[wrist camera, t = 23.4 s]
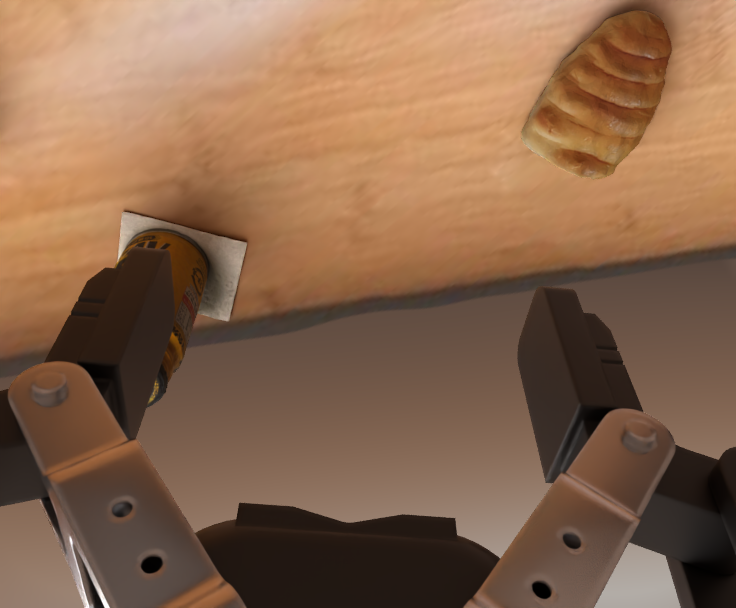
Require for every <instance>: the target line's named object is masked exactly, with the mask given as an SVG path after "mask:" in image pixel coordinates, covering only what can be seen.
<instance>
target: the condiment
mask: <svg viewBox="0 0 736 608" xmlns="http://www.w3.org/2000/svg"><path fill="white" fill-rule="evenodd" d="M246 246H247V243H246V242H242V241H236V240H232V239H229V238H226V237H220V236H216V235H213V234H209V233H204V232H201V231H198V230H194V229H190V228H187V227H184V226H180V225H177V224H172V223H168V222H164V221H160V220H156V219H153V218H149V217H143V216H141V215H136V214H132V213H127V212H122V218H121V230H120V242H119V252H118V261H117V264H116V266H115V269H121V268H122V266H123V264H124V262H125V260H126V257H127V255H128V253H129V251H130V249H131V248H132V247H142V248H153V249H163V250H169V252H170V255H171V264H172V277H173V289H174V302H175V317H174V325H173V330H172V334H171V337H170V340H169V343H168V346H167V349H166V352H165V355H164V358H163V360H162V363H161V366H160V369H159V372H158V375H157V378H156V381H155V384H154V387H153V390H152V393H151V395H150V398H149V401H148V404H147V407H149V406H151V405H153V404H154V403H156V402H157V401H159V400H160V399H161V398H162V396H163V394H164V393H165V392H166V388H167V384H168V382H169V380H170V379H171V376H172V374H173V373H175V372H176V370H177V369H178V368H179V366H180V364H181V362H182V360H183V358H184V355H185V351H186V347H187V344H188V341H189V337H190V334H191V331H192V328H193V324H194V321H195V318H196V315H197V314H201V315H206V316H209V317H212V318H215V319H220V320H224V321H229V318H230V313H231V310H232V305H233V301H234V297H235V293H236V288H237V284H238V280H239V276H240V272H241V267H242V263H243V259H244V255H245V250H246ZM147 407H146V408H147Z"/></svg>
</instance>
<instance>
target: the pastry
mask: <svg viewBox="0 0 736 608" xmlns="http://www.w3.org/2000/svg"><path fill="white" fill-rule="evenodd" d="M671 51H672V47H671V41H670V38H669V36H668V33H667V30H666V28H665V26H664V23H663V22H662V20H661V19H660V18H659V17H658V16H656V15H654V14H652V13H650V12H647V11H636V10H635V11H631V12H627V13H623V14H619V15H617V16H613V17H610V18H608V19H606V20H605V21H604V22H603V24H602V25H601V26H600V27H599V28H598V29H597V30H595V31H594V32H593V34H592V35H591V36H590V37H589V38H588V39H587V40H585V41H584V42H582V43H581V44H580V45H579V46H578V47H577V49H576V50H575V51H574V52H573V53H572V54H570V55H569V56H568V57H567V58H565V59H564V60H563V61H562V62H561V64H560V66H559V68H558V70H557V71H556V72H555V73H554V74H553V76H552V77H551V79H550V81H549V84H548V85H547V87H546V88H545V89H544V92H543V94H542V95H541V96H540V98H539V100H538V101H537V103H536V104H535V106H534V108H533V109H532V111H531V113H530V116H529V120H528V121H527V122H526V124H525V126H524V127H523V129H522V131H521V139H522V141H523V143H524V144H525V145H526V146H527V147H528V148H529V149H530V150H532V151H533V152H534V153H535V154H537V155H539V156H542V157H543V158H545V159H546V160H547V161H548V162H550V163H551V164H552V165H554V166H556V167H558V168H560V169H562V170H564V171H566V172H568V173H571V174H573V175H575V176H578V177H581V178H591V179H601V178H605V177H607V176H609V175H611V174H613V173H614V171H615V168H616V167H617V165H618V164H619V163H620V162H621V161H622V160H623V159H624V158H625V157H626V156H628V154H629V153H630V152H631V151H632V150H633V149H634V148H635V147H636V146H637V145H638V144H639V142H640V140H641V138H642V135H643V133H644V131H645V129H646V127H647V126H648V124H649V123H650V121H651V120H652V118H653V115H654V113H655V110H656V107H657V105H658V104H659V102H660V99H661V91H662V89H663V87H664V84H665V79H664V77H665V73H666V68H667V65H668V60H669V57H670V54H671Z"/></svg>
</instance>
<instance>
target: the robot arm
mask: <svg viewBox="0 0 736 608" xmlns="http://www.w3.org/2000/svg"><path fill="white" fill-rule="evenodd" d="M174 317H175V302H174V289H173V277H172V264H171V255H170V252H169V250H163V249H153V248H142V247H132V248H131V249H130V251H129V253H128V255H127V257H126V260H125V262H124V264H123V266H122V268H121V269H115V268H104V269H103V270H102V271H100V272H99V273H98V274H96V275H95V276H94V277H92V278H91V279H90V280H89V281H87V283H86V285H85V287H84V289H83V291H82V292H81V294H80V296H79V298H78V302H76V304H75V306H74V307H73V309H72V311H71V315H69V317H68V319H67V321H66V322H65V324H64V326H63V328H62V330H61V332H60V334H59V336H58V337H57V339H56V341H55V343H54V345H53V347H52V349H51V351H50V352H49V354H48V356H47V358H46V360H45V362H44V363H43V364H39V365H36V366H34V367H31V368H29V369H28V370H26V371H24V372H23V373H21V374H20V375H19V376H18V377H17V378H16V379H15V380H14V381H13V382H12V384H11V386H10V388H9V389H6V390H3V391H0V506H5V505H10V504H15V503H20V502H25V501H30V500H35V499H39V500H40V503H41V505H42V507H43V509H44V512H45V514H46V516H47V518H48V521H49V523H50V525H51V527H52V529H53V531H54V534H55V536H56V538H57V541H58V543H59V545H60V547H61V549H62V552H63V554H64V556H65V558H66V560H67V563H68V565H69V567H70V569H71V572H72V575H73V577H74V580H75V582H76V585H77V588H78V591H79V593H80V596H81V599H82V601H83V604H84V606H85V608H594V606H595V604H596V603H597V601H598V599H599V597H600V595H601V593H602V591H603V590H604V588H605V586H606V584H607V582H608V580H609V578H610V576H611V574H612V573H613V571H614V569H615V567H616V565H617V563H618V561H619V560H620V558H621V556H622V554H623V552H624V550H625V548H626V547H627V545H628V543H629V542H630V543H633V544H635V545H638V546H641V547H643V548H646V549H649V550H652V551H655V552H657V553H660V554H663V555H665V556H666V559H667V562H668V566H669V569H670V572H671V575H672V579H673V582H674V586H675V589H676V592H677V596H678V599H679V603H680V606H681V608H736V447H733V448H730V449H728V450H726V451H725V452H724V453H723V454H722V456H721V457H720V459H719V460H717V459H714V458H711V457H708V456H705V455H702V454H699V453H696V452H693V451H690V450H687V449H685V448H682V447H679V446H677V445H675V442H674V439H673V437H672V435H671V433H670V432H669V431H668V429H667V428H666V427H665V426H664V425H663V424H662V423H661V422H659V421H658V420H657V419H655V418H653V417H652V416H650V415H648V414H646V413H644V412H643V410H642V407H641V405H640V402H639V400H638V397H637V395H636V392H635V390H634V387H633V385H632V382H631V380H630V378H629V375H628V373H627V370H626V368H625V365H623V361H622V358H621V355H620V353H619V351H617V345H616V343H615V340H614V338H613V336H612V333H611V331H610V329H609V328H608V327H607V326H606V325H605V324H604V323H603V322H602V321H601V320H600V319H599V318H598V317H597V316H596V315H595V314H590V313H583V310H582V308H581V305H580V303H579V300H578V297H577V294H576V292H575V291H574V290H573V289H564V288H554V287H544V286H540V287H538V288H537V290H536V292H535V294H534V297H533V300H532V303H531V306H530V309H529V312H528V315H527V318H526V321H525V324H524V327H523V330H522V333H521V336H520V340H519V345H518V366H519V370H520V374H521V379H522V383H523V387H524V391H525V395H526V400H527V404H528V409H529V413H530V417H531V421H532V425H533V430H534V434H535V438H536V442H537V447H538V451H539V455H540V460H541V464H542V468H543V473H544V477H545V481H546V483H553V484H552V486H551V487H550V489H549V490H548V492H547V493H546V495H545V496H544V498H543V499H542V500H541V502H540V503H539V505H538V506H537V508H536V509H535V510H534V512H533V513H532V514H531V516H530V518H529V519H528V520H527V522H526V523H525V524H524V526H523V527H522V529H521V530H520V532H519V533H518V535H517V536H516V537H515V539H514V540H513V542H512V543H511V545H510V546H509V547H508V549H507V550H506V552H505V553H504V555H503V556H502V557H501V559H500V558H499V557H498V556H496V555H495V554H493V553H492V552H490V551H489V550H488V549H486V548H484V547H482V546H481V545H479V544H477V543H475V542H473V541H471V540H469V539H466V538H464V537H461V536H458V535H457V531H456V521H455V518H445V517H431V516H417V515H397V516H391V517H385V518H378V519H372V520H366V521H360V522H354V523H346V522H341V521H338V520H335V519H332V518H328V517H325V516H322V515H319V514H315V513H312V512H309V511H306V510H302V509H299V508H296V507H290V506H277V505H263V504H249V503H239V508H238V513H237V519H236V520H230V521H225V522H222V523H218V524H214V525H212V526H209V527H207V528H204V529H202V530H200V531H198V532H196V533H194V532H193V530H192V528H191V526H190V525H189V523H188V521H187V520H186V518H185V516H184V515H183V513H182V511H181V510H180V508H179V506H178V505H177V503H176V502H175V500H174V498H173V497H172V495H171V493H170V492H169V490H168V488H167V487H166V485H165V483H164V482H163V480H162V479H161V477H160V475H159V473H158V472H157V470H156V468H155V467H154V465H153V464H152V462H151V460H150V459H149V457H148V456H147V454H146V452H145V450H144V449H143V447H142V446H141V444H140V443H139V441H138V440H137V439H136V436H137V433H138V431H139V427H140V425H141V421H142V419H143V416H144V412H145V410H146V407H147V404H148V401H149V398H150V395H151V393H152V390H153V387H154V384H155V381H156V378H157V375H158V372H159V369H160V366H161V363H162V360H163V358H164V355H165V352H166V349H167V346H168V343H169V340H170V337H171V334H172V330H173V325H174Z"/></svg>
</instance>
